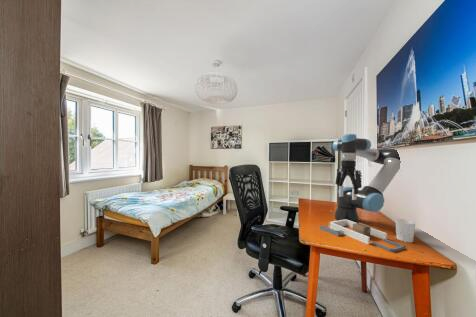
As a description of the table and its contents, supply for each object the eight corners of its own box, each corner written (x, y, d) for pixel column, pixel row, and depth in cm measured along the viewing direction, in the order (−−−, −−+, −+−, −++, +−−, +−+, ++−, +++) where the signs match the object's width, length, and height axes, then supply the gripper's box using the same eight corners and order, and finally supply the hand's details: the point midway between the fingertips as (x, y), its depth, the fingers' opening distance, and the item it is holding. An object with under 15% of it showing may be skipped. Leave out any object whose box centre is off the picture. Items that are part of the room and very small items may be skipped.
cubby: (346, 224, 123) (346, 219, 123) (386, 239, 101) (387, 233, 101) (328, 227, 117) (328, 222, 117) (367, 244, 95) (368, 237, 95)
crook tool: (324, 227, 118) (324, 224, 118) (343, 234, 107) (343, 231, 107) (319, 228, 115) (319, 225, 115) (337, 236, 105) (337, 232, 105)
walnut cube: (359, 233, 110) (359, 222, 110) (370, 237, 105) (370, 226, 105) (352, 234, 108) (352, 223, 108) (363, 238, 102) (363, 227, 102)
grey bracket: (384, 240, 100) (384, 238, 100) (405, 248, 92) (405, 246, 92) (372, 244, 96) (372, 241, 96) (392, 252, 88) (392, 250, 88)
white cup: (414, 240, 102) (415, 221, 102) (414, 244, 96) (414, 225, 96) (395, 235, 108) (396, 217, 107) (394, 239, 102) (394, 221, 102)
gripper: (329, 159, 122) (328, 194, 123) (361, 160, 103) (360, 202, 103) (337, 159, 125) (336, 194, 125) (370, 160, 106) (369, 201, 106)
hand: (347, 197), depth 114 cm, fingers open, 8 cm apart
